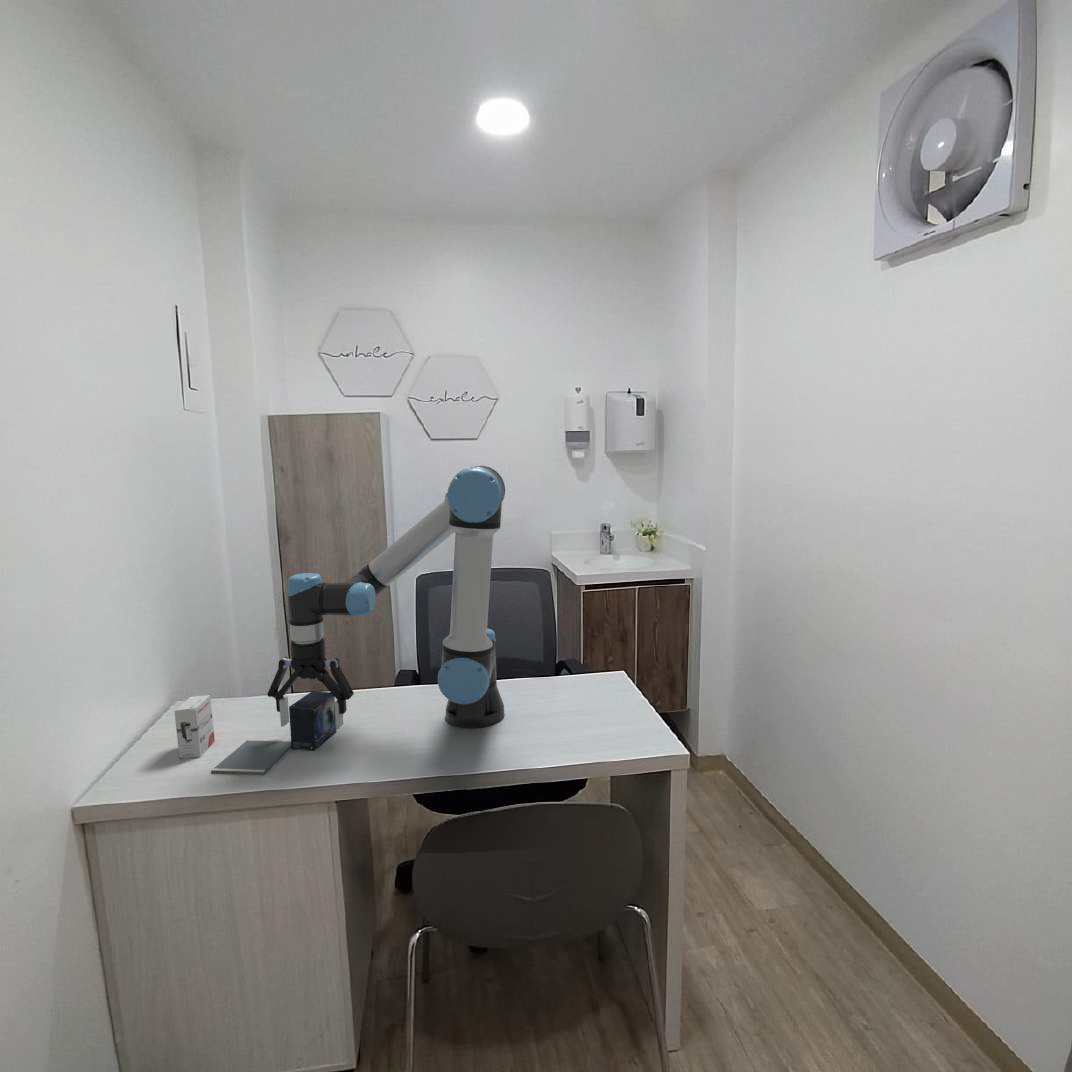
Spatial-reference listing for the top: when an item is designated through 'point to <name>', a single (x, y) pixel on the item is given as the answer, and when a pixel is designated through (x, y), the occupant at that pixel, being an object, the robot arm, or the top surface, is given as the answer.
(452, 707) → the robot arm
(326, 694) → the small box
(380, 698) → the top surface
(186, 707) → the ink box
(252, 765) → the mat
